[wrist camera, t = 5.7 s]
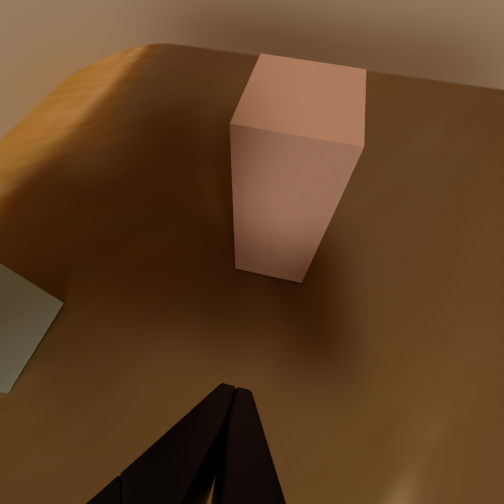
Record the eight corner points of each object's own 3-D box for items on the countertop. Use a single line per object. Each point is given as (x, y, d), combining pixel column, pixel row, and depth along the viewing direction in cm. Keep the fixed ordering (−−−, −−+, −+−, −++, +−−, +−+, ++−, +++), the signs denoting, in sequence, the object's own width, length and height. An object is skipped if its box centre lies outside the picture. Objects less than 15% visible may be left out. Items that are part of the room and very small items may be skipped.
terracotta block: (301, 283, 16) (363, 147, 8) (235, 268, 16) (229, 123, 8) (310, 223, 18) (366, 69, 10) (252, 211, 19) (261, 53, 10)
